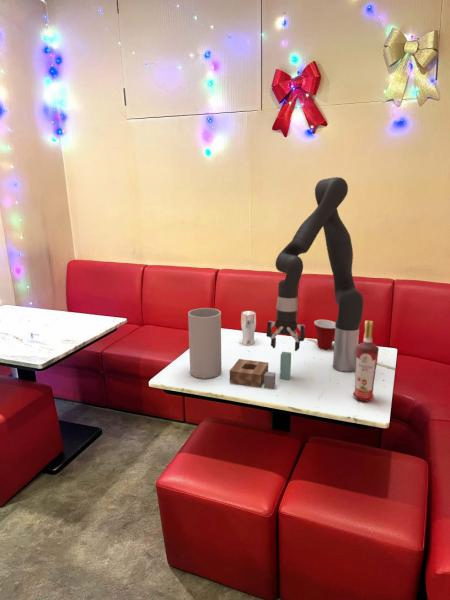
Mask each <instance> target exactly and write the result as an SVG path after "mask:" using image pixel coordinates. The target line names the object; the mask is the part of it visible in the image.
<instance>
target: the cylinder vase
mask: <svg viewBox="0 0 450 600" xmlns="http://www.w3.org/2000/svg"><path fill="white" fill-rule="evenodd" d="M187 315H188V316H187V317H188V318H187V319H188V346H189V347H188V350H189V373H190V374H191V376H193V377H195V378H197V379H204V380H206V379H212V378H217V377H218V376H219V375H221V373H222V312H221V310H219V309H216V308H213V307H211V308H210V307H203V308H202V307H200V308H195V309H191V310H189V311H188V314H187Z"/></svg>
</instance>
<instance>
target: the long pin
mask: <svg viewBox="0 0 450 600" xmlns="http://www.w3.org/2000/svg"><path fill="white" fill-rule="evenodd" d="M291 365H292V352H290V351H281V353H280V366H279V368H280V369H279V371H280V372H279V380H284V381H285V380H286V381H290V378H291V370H292V369H291V368H292V367H291Z"/></svg>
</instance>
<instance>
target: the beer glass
mask: <svg viewBox="0 0 450 600" xmlns="http://www.w3.org/2000/svg"><path fill="white" fill-rule="evenodd" d="M240 317H241V318H240V326H241V333H242V341H241V344H242V345H244V346H253V345H255V343H256V340H255V331H256V327H257V313H256V312H255V311H254V310H244V311H241V315H240Z"/></svg>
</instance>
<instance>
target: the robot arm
mask: <svg viewBox="0 0 450 600" xmlns="http://www.w3.org/2000/svg"><path fill="white" fill-rule="evenodd" d="M348 190H349V186H348V182H347V181H346V180H345V179H344V178H343V177H341V176H338V177H337V176H336V177H334V176H333V177H330V178H323V179H321V180H319V181H318V182H317V183H316V186H315V187H314V196H315V201H316V204H317V207H316V209H315V210H314V211H313V212H312V213H310V215H309V216H308V217H307V218H306V219H305V220H304V221H303V222H302V223H301V225H300V226H299V228H298V229H297V231H296V232H295V234H294V236H293V238H292V240H291V241H290V242H289V243H288V244H287V245H286V246H285V247H284V248H283V249H282V250H281V252H279V254H278V255H277V257H276V259H275V268H276V270H277V271H278V272H280V273H283V274H286V275H285V279H282V280H281V279H280V280H279V282H278V289H277V290H278V291H277V301H276V316H275V317H276V318H275V321H273V320H271V319H270V320H269V321H268V322H267V327H266V335H265V336H266V337H267V338H270V342H271V343H270V345H271V347H272V349H276V345H277V338H276V337H277V335H279V333H280V335H286V336H290V335H291V337H292V339H294V341H295V342H294V351H295V352H298V350H300V344H301V342H304V341H305V339H306V325H305V324H304V323H302V324H298V323H297V318H298V286H299V284H300V282H301V278H302V277H301V276H302V274H303V270H304V264H303V259H302V258H301V257H300V256H299V255H302V254H306V253H308V251H309V250H310V248H311V247H312V245H313V243H314V241H315V240H316V238H317V236H318V234H319V233H320V232H321V230H322V228H323V233H324V238H325V245H326V251H327V256H328V260H329V264H330V268H331V273H332V275H333V276H332V277H333V287H334V299H335V302H336V305H337V306H338V314H337V318H336V319H335V322H336V323H335V335H334V339H333V357H332V358H333V360H332V368H334V369H335V370H337V371H339V372H347V373H348V372H350V373H351V372H355V371H356V345H358V344H359V336H360V326H361V323H362V318H363V313H364V297H363V294H362V293H361V292H360V291H358V290H357V288H356V286H355V282H354V278H353V271H352V269H353V261H354V260H353V259H354V251H353V249H354V248H353V245H352V244H353V243H352V239H351V235H350V233H349V231H348V229H347V227H346V226H345V224H344V222H343V220H342V219H341V217H340V214H339V211H338V208H339V206H340V205H341V204H342V202H343V201H344V200H345V198H346V197H347V195H348V192H349V191H348ZM274 326H275V328H276V330H275V331H274V333H272V329H273V327H274ZM297 328H298V331H300V336H299V334H298V331H296V330H297Z"/></svg>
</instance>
